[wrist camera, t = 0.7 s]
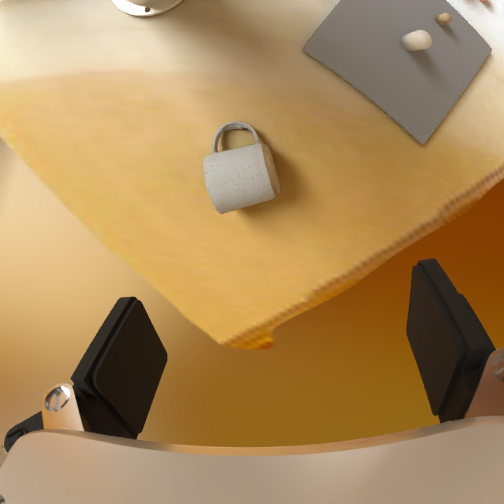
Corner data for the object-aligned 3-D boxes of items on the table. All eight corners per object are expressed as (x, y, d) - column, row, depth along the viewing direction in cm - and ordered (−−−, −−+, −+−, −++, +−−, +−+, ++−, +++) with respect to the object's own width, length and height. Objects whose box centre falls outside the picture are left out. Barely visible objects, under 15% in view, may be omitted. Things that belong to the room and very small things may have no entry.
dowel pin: (433, 19, 28) (441, 17, 26) (437, 13, 27) (445, 10, 25) (440, 26, 28) (449, 24, 26) (445, 20, 27) (453, 18, 25)
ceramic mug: (283, 187, 43) (283, 207, 37) (226, 201, 45) (216, 223, 38) (261, 112, 39) (256, 117, 32) (202, 130, 40) (185, 139, 34)
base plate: (301, 50, 34) (304, 44, 29) (381, -47, 25) (393, -61, 20) (419, 143, 38) (436, 153, 33) (487, 49, 29) (509, 49, 24)
